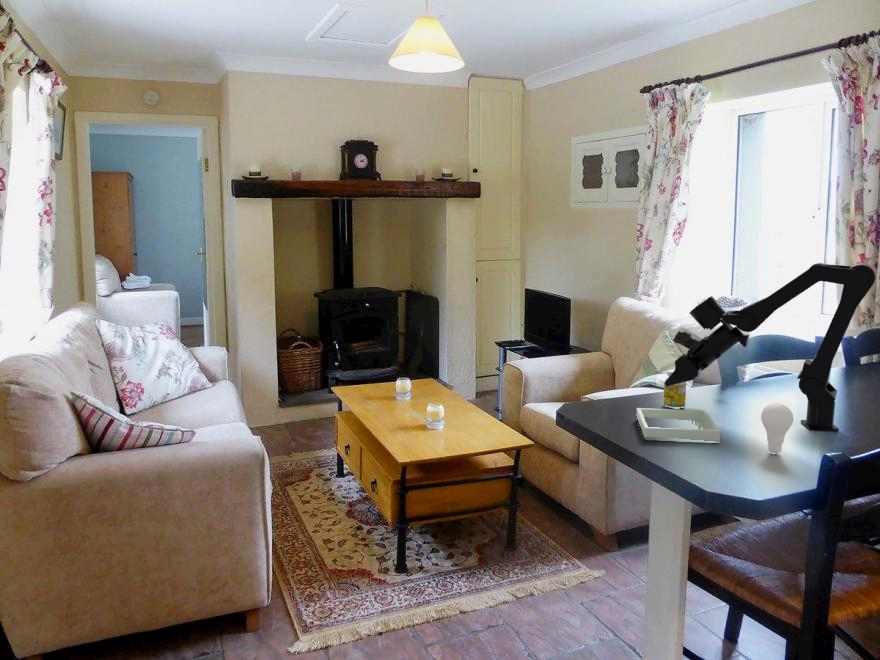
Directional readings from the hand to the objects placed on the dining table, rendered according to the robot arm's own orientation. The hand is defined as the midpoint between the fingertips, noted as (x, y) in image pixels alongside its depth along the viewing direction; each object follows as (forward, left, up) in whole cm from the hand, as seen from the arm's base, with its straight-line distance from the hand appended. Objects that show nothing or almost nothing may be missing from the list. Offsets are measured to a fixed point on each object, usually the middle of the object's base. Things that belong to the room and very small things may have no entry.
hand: (670, 381), depth 185 cm
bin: (-22, +2, -7) cm, 23 cm away
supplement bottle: (-1, -1, -7) cm, 7 cm away
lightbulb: (-35, -16, -7) cm, 39 cm away
